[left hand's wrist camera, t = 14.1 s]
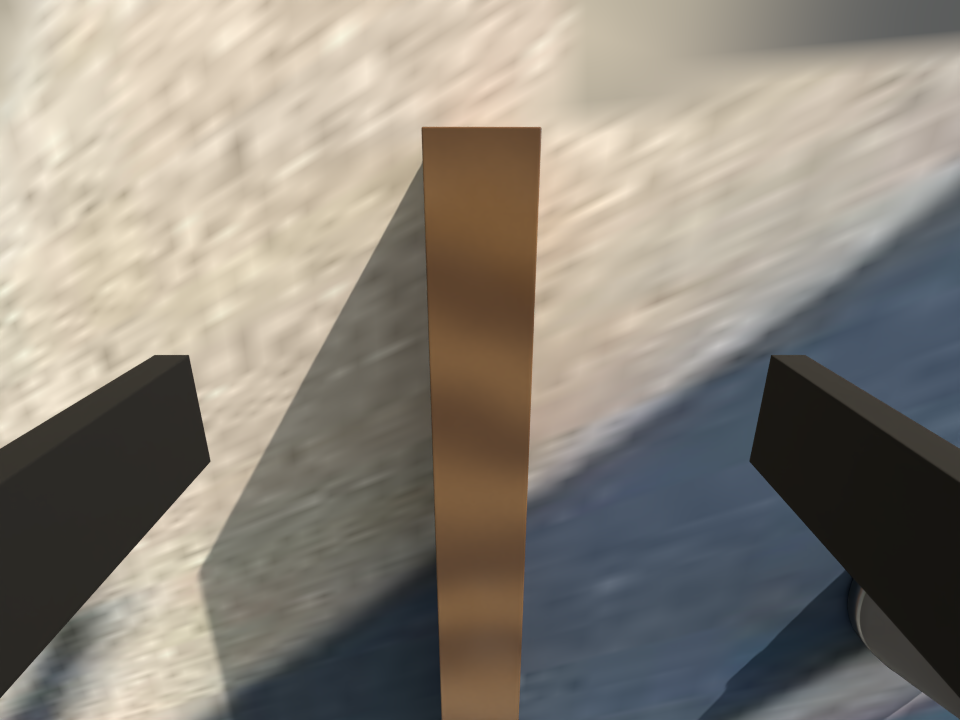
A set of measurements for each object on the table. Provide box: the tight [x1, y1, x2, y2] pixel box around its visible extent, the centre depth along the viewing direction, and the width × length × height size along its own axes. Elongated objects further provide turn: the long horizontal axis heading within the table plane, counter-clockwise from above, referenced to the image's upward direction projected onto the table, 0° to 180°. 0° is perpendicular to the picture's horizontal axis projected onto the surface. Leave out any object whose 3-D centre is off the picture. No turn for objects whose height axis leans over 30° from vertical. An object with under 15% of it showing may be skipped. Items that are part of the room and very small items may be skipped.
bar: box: [422, 127, 541, 720], centre depth 39 cm, size 74×5×8 cm, turn 0°
